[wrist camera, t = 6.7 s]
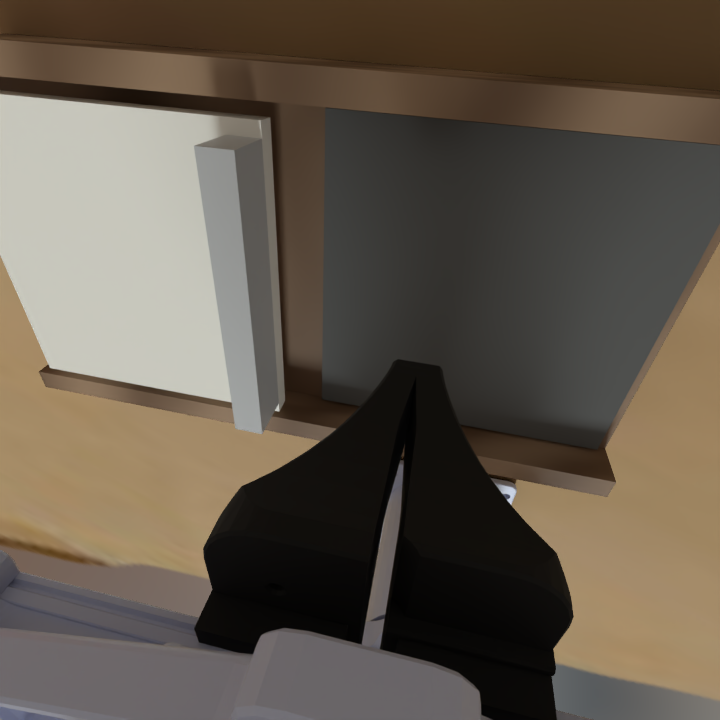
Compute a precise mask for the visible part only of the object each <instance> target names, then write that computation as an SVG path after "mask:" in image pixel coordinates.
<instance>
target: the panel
mask: <svg viewBox="0 0 720 720" xmlns="http://www.w3.org/2000/svg"><path fill="white" fill-rule="evenodd" d="M719 224H720V145H717V144H706V143H696V142H685V141H674V140H664V139H653V138H643V137H632V136H622V135H611V134H601V133H590V132H580V131H569V130H559V129H548V128H538V127H527V126H516V125H506V124H495V123H485V122H474V121H464V120H453V119H443V118H432V117H422V116H411V115H401V114H390V113H379V112H369V111H358V110H348V109H337V108H327V107H326V108H325V174H324V258H323V342H322V399H324V400H329V401H335V402H340V403H345V404H351V405H356V406H361V405H362V404H363V403H364V402H365V400H366V399H367V398H368V397H369V396H370V395H371V393H372V392H373V391H374V390H375V389H376V387H377V386H378V385H379V384H380V382H381V381H382V379H383V378H384V377H385V375H386V374H387V372H388V371H389V369H390V367H391V366H392V363H393V362H394V361H395V360H397V359H401V360H407V361H413V362H419V363H425V364H431V365H437V366H440V367H441V368H442V370H443V376H444V380H445V384H446V388H447V391H448V395H449V398H450V401H451V403H452V406H453V408H454V411H455V413H456V416H457V419H458V421H459V423H460V425H465V426H471V427H476V428H482V429H487V430H492V431H498V432H503V433H509V434H514V435H520V436H525V437H531V438H536V439H541V440H547V441H552V442H558V443H563V444H569V445H574V446H580V447H585V448H590V449H596V450H597V449H598V447H599V445H600V444H601V442H602V440H603V438H604V436H605V434H606V433H607V431H608V429H609V427H610V425H611V423H612V422H613V420H614V418H615V416H616V414H617V412H618V410H619V409H620V407H621V405H622V403H623V401H624V399H625V398H626V396H627V394H628V392H629V390H630V388H631V386H632V385H633V383H634V381H635V379H636V377H637V375H638V374H639V372H640V370H641V368H642V366H643V364H644V363H645V361H646V359H647V357H648V355H649V353H650V351H651V350H652V348H653V346H654V344H655V342H656V340H657V339H658V337H659V335H660V333H661V331H662V329H663V328H664V326H665V324H666V322H667V320H668V318H669V316H670V315H671V313H672V311H673V309H674V307H675V305H676V304H677V302H678V300H679V298H680V296H681V294H682V293H683V291H684V289H685V287H686V285H687V283H688V281H689V280H690V278H691V276H692V274H693V272H694V270H695V269H696V267H697V265H698V263H699V261H700V259H701V258H702V256H703V254H704V252H705V250H706V248H707V246H708V245H709V243H710V241H711V239H712V237H713V235H714V234H715V232H716V230H717V228H718V226H719Z"/></svg>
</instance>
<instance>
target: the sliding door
mask: <svg viewBox="0 0 720 720" xmlns="http://www.w3.org/2000/svg"><path fill="white" fill-rule="evenodd" d="M0 255H1V258H2V260H3V262H4V264H5V267H6V269H7V271H8V274H9V276H10V278H11V280H12V283H13V285H14V287H15V289H16V292H17V294H18V296H19V299H20V301H21V303H22V305H23V308H24V310H25V312H26V314H27V317H28V319H29V321H30V323H31V326H32V328H33V330H34V333H35V335H36V337H37V339H38V342H39V344H40V346H41V348H42V351H43V353H44V355H45V358H46V360H47V362H48V364H49V367H50V368H53V369H58V370H63V371H68V372H74V373H79V374H84V375H89V376H95V377H100V378H105V379H110V380H116V381H121V382H126V383H132V384H137V385H142V386H147V387H153V388H158V389H163V390H168V391H174V392H179V393H184V394H189V395H195V396H200V397H205V398H211V399H216V400H221V401H226V402H232V409H233V416H234V422H235V429H239V430H244V431H250V432H255V433H260V434H263V432H264V430H265V428H266V426H267V424H268V422H269V421H270V419H271V417H272V415H273V413H274V411H280V409H281V407H282V406H283V404H284V402H285V388H284V369H283V350H282V331H281V312H280V293H279V274H278V255H277V236H276V217H275V198H274V179H273V160H272V141H271V122H270V117H264V116H254V115H244V114H234V113H224V112H213V111H203V110H193V109H183V108H173V107H163V106H153V105H143V104H133V103H123V102H113V101H103V100H93V99H83V98H73V97H63V96H53V95H43V94H33V93H23V92H13V91H3V90H0Z"/></svg>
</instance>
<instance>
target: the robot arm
mask: <svg viewBox="0 0 720 720" xmlns="http://www.w3.org/2000/svg"><path fill="white" fill-rule="evenodd" d="M404 446H405V448H404ZM403 449H404V461H403V460H401V456H402V453H403ZM516 491H517V490H516V485H515V484H514V483H512V482H509V481H504V480H499V479H494V478H490V476H489V475H488V473H487V472H486V470H485V469H484V467H483V466H482V464H481V463H480V461H479V459H478V458H477V456H476V454H475V453H474V451H473V449H472V447H471V445H470V444H469V442H468V440H467V438H466V436H465V434H464V432H463V430H462V427H461V425H460V423H459V421H458V419H457V416H456V413H455V411H454V408H453V406H452V403H451V401H450V398H449V395H448V391H447V388H446V384H445V380H444V376H443V370H442V368H441V367H440V366H437V365H431V364H425V363H419V362H413V361H407V360H401V359H397V360H395V361H394V362H393V363H392V366H391V367H390V369H389V371H388V372H387V374H386V375H385V377H384V378H383V379H382V381H381V382H380V384H379V385H378V386H377V387H376V389H375V390H374V391H373V392H372V393H371V395H370V396H369V397H368V398H367V399H366V400H365V402H364V403H363V404H362V405H361V406H360V407H359V408H358V409H357V410H356V411H355V412H354V413H353V414H352V415H351V416H350V417H349V418H348V419H347V420H346V421H345V422H344V423H343V424H341V425H340V426H339V427H338V428H337V429H336V430H334V431H333V432H332V433H331V434H330V435H328V436H327V437H326V438H324V439H323V440H322V441H320V442H319V443H318V444H316V445H315V446H314V447H312V448H311V449H309V450H308V451H307V452H305V453H304V454H302V455H300V456H299V457H297V458H295V459H294V460H292V461H290V462H289V463H287V464H285V465H284V466H282V467H280V468H279V469H277V470H275V471H273V472H271V473H269V474H267V475H265V476H263V477H261V478H259V479H257V480H255V481H253V482H250V483H248V484H246V485H244V486H242V487H241V488H240V489H239V490H238V492H237V493H236V494H235V496H234V497H233V498H232V499H231V501H230V502H229V504H228V505H227V507H226V508H225V509H224V511H223V512H222V514H221V515H220V517H219V519H218V521H217V523H216V524H215V526H214V528H213V530H212V532H211V534H210V536H209V538H208V540H207V542H206V544H205V546H204V548H203V550H204V560H205V563H206V567H207V571H208V574H209V578H210V582H211V585H212V589H213V590H212V592H211V594H210V596H209V598H208V600H207V602H206V604H205V607H204V609H203V611H202V613H201V615H200V617H199V618H198V617H194V616H190V615H186V614H182V613H178V612H174V611H170V610H167V609H163V608H159V607H155V606H152V605H148V604H144V603H140V602H136V601H132V600H128V599H124V598H121V597H117V596H113V595H109V594H105V593H101V592H97V591H94V590H90V589H86V588H82V587H78V586H74V585H70V584H66V583H63V582H59V581H55V580H51V579H47V578H43V577H40V576H36V575H32V574H28V573H24V572H20V571H19V568H18V566H17V564H16V562H15V561H14V560H13V559H12V558H11V557H10V556H9V555H8V554H7V553H5V552H3V551H2V550H0V720H592V719H588V718H584V717H580V716H576V715H572V714H569V713H565V712H561V711H557V710H556V709H555V701H554V692H553V685H552V677H551V676H553V675H554V674H555V670H556V666H555V659H554V651H553V648H554V647H555V646H556V644H557V643H558V642H559V640H560V639H561V637H562V636H563V635H564V633H565V632H566V631H567V629H568V628H569V626H570V624H571V622H572V619H573V617H574V616H573V610H572V602H571V596H570V592H569V588H568V585H567V582H566V579H565V575H564V572H563V569H562V567H561V564H560V561H559V558H558V556H557V553H556V552H555V551H554V550H553V549H552V548H551V547H550V546H549V545H548V544H547V543H546V542H545V541H544V540H543V539H542V538H541V537H540V536H539V535H538V534H537V533H536V532H535V531H534V530H533V529H532V528H531V527H530V526H529V525H528V524H527V523H526V522H525V521H524V520H523V519H522V517H521V516H520V515H519V514H518V513H517V512H516V511H515V509H514V508H513V507H512V506H511V504H512V502H513V499H514V497H515V494H516ZM378 550H379V551H378ZM376 561H377V562H376ZM374 572H375V573H374Z"/></svg>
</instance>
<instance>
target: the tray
mask: <svg viewBox="0 0 720 720" xmlns="http://www.w3.org/2000/svg"><path fill="white" fill-rule="evenodd" d="M0 90H3V91H13V92H23V93H33V94H43V95H53V96H63V97H73V98H83V99H93V100H103V101H113V102H123V103H133V104H143V105H153V106H163V107H173V108H183V109H193V110H203V111H213V112H224V113H234V114H244V115H254V116H264V117H270V122H271V141H272V160H273V179H274V198H275V217H276V236H277V255H278V274H279V293H280V312H281V331H282V350H283V369H284V388H285V402H284V404H283V406H282V407H281V409H280V411H274V413H273V415H272V417H271V419H270V421H269V422H268V424H267V426H266V428H265V430H269V431H274V432H279V433H284V434H289V435H294V436H299V437H304V438H309V439H314V440H319V441H322V440H323V439H324V438H326V437H327V436H328V435H330V434H331V433H332V432H333V431H334V430H336V429H337V428H338V427H339V426H340V425H341V424H343V423H344V422H345V421H346V420H347V419H348V418H349V417H350V416H351V415H352V414H353V413H354V412H355V411H356V410H357V409H358V408H359V407H360V406H356V405H351V404H345V403H340V402H335V401H329V400H324V399H322V342H323V258H324V174H325V108H326V107H327V108H337V109H348V110H358V111H369V112H379V113H390V114H401V115H411V116H422V117H432V118H443V119H453V120H464V121H474V122H485V123H495V124H506V125H516V126H527V127H538V128H548V129H559V130H569V131H580V132H590V133H601V134H611V135H622V136H632V137H643V138H653V139H664V140H674V141H685V142H696V143H706V144H717V145H720V91H713V90H701V89H688V88H676V87H663V86H651V85H638V84H626V83H613V82H601V81H589V80H576V79H564V78H551V77H539V76H526V75H514V74H501V73H489V72H477V71H464V70H452V69H439V68H427V67H414V66H402V65H389V64H377V63H365V62H352V61H340V60H327V59H315V58H302V57H290V56H277V55H265V54H253V53H240V52H228V51H215V50H203V49H190V48H178V47H165V46H153V45H141V44H128V43H116V42H103V41H91V40H78V39H66V38H53V37H41V36H29V35H16V34H0ZM719 242H720V224H719V226H718V228H717V230H716V232H715V234H714V235H713V237H712V239H711V241H710V243H709V245H708V246H707V248H706V250H705V252H704V254H703V256H702V258H701V259H700V261H699V263H698V265H697V267H696V269H695V270H694V272H693V274H692V276H691V278H690V280H689V281H688V283H687V285H686V287H685V289H684V291H683V293H682V294H681V296H680V298H679V300H678V302H677V304H676V305H675V307H674V309H673V311H672V313H671V315H670V316H669V318H668V320H667V322H666V324H665V326H664V328H663V329H662V331H661V333H660V335H659V337H658V339H657V340H656V342H655V344H654V346H653V348H652V350H651V351H650V353H649V355H648V357H647V359H646V361H645V363H644V364H643V366H642V368H641V370H640V372H639V374H638V375H637V377H636V379H635V381H634V383H633V385H632V386H631V388H630V390H629V392H628V394H627V396H626V398H625V399H624V401H623V403H622V405H621V407H620V409H619V410H618V412H617V414H616V416H615V418H614V420H613V422H612V423H611V425H610V427H609V429H608V431H607V433H606V434H605V436H604V438H603V440H602V442H601V444H600V445H599V447H598V449H597V450H596V449H590V448H585V447H580V446H574V445H569V444H563V443H558V442H552V441H547V440H541V439H536V438H531V437H525V436H520V435H514V434H509V433H503V432H498V431H492V430H487V429H482V428H476V427H471V426H465V425H461V427H462V430H463V432H464V434H465V436H466V438H467V440H468V442H469V444H470V445H471V447H472V449H473V451H474V453H475V454H476V456H477V458H478V459H479V461H480V463H481V464H482V466H483V467H484V469H485V470H486V472H487V473H488V474H493V475H498V476H503V477H508V478H513V479H518V480H523V481H528V482H533V483H538V484H544V485H549V486H554V487H559V488H564V489H569V490H574V491H579V492H584V493H589V494H594V495H600V496H605V497H607V496H608V495H609V493H610V492H611V490H612V488H613V487H614V485H615V483H616V480H615V477H614V474H613V471H612V468H611V465H610V462H609V459H608V456H607V453H606V450H605V447H606V446H607V444H608V442H609V440H610V438H611V437H612V435H613V433H614V431H615V429H616V428H617V426H618V424H619V422H620V420H621V419H622V417H623V415H624V413H625V411H626V410H627V408H628V406H629V404H630V402H631V401H632V399H633V397H634V395H635V393H636V392H637V390H638V388H639V386H640V384H641V383H642V381H643V379H644V377H645V375H646V374H647V372H648V370H649V368H650V366H651V365H652V363H653V361H654V359H655V357H656V356H657V354H658V352H659V350H660V349H661V347H662V345H663V343H664V341H665V340H666V338H667V336H668V334H669V332H670V331H671V329H672V327H673V325H674V323H675V322H676V320H677V318H678V316H679V314H680V313H681V311H682V309H683V307H684V305H685V304H686V302H687V300H688V298H689V296H690V295H691V293H692V291H693V289H694V287H695V286H696V284H697V282H698V280H699V278H700V277H701V275H702V273H703V271H704V269H705V268H706V266H707V264H708V262H709V260H710V259H711V257H712V255H713V253H714V251H715V250H716V248H717V246H718V244H719ZM39 373H40V375H41V377H42V380H43V382H44V384H45V386H46V387H50V388H55V389H60V390H65V391H70V392H75V393H80V394H85V395H90V396H95V397H100V398H106V399H111V400H116V401H121V402H126V403H131V404H136V405H141V406H146V407H151V408H156V409H162V410H167V411H172V412H177V413H182V414H187V415H192V416H197V417H202V418H207V419H212V420H218V421H223V422H228V423H233V424H235V422H234V416H233V409H232V402H226V401H221V400H216V399H211V398H205V397H200V396H195V395H189V394H184V393H179V392H174V391H168V390H163V389H158V388H153V387H147V386H142V385H137V384H132V383H126V382H121V381H116V380H110V379H105V378H100V377H95V376H89V375H84V374H79V373H74V372H68V371H63V370H58V369H53V368H50V367H49V364H48V365H47V366H46V367H44V368H43V369H42V370H40V371H39ZM404 448H405V446H404ZM401 457H404V449H403V453H402V456H401Z"/></svg>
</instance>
